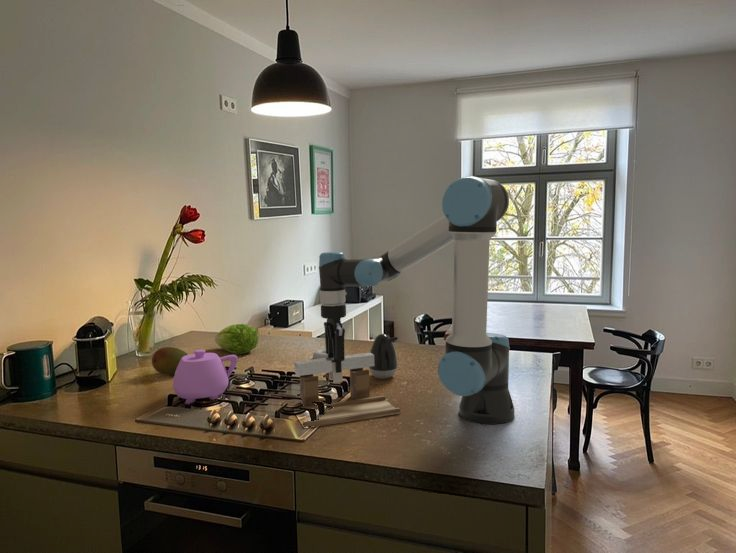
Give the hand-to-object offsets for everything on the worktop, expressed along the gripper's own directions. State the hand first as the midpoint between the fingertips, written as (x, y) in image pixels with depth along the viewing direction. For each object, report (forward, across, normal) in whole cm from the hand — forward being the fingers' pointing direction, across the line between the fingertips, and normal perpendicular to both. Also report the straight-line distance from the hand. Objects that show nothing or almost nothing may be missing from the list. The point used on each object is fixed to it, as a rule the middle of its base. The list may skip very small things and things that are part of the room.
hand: (335, 380), depth 159 cm
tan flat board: (+7, -11, 0) cm, 12 cm away
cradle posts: (+6, 0, 0) cm, 7 cm away
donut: (+6, +48, -11) cm, 50 cm away
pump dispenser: (+7, +17, -23) cm, 29 cm away
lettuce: (+6, +75, +21) cm, 79 cm away
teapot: (+6, +22, +36) cm, 43 cm away
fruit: (+6, +51, +46) cm, 69 cm away
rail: (-3, 0, 0) cm, 3 cm away
